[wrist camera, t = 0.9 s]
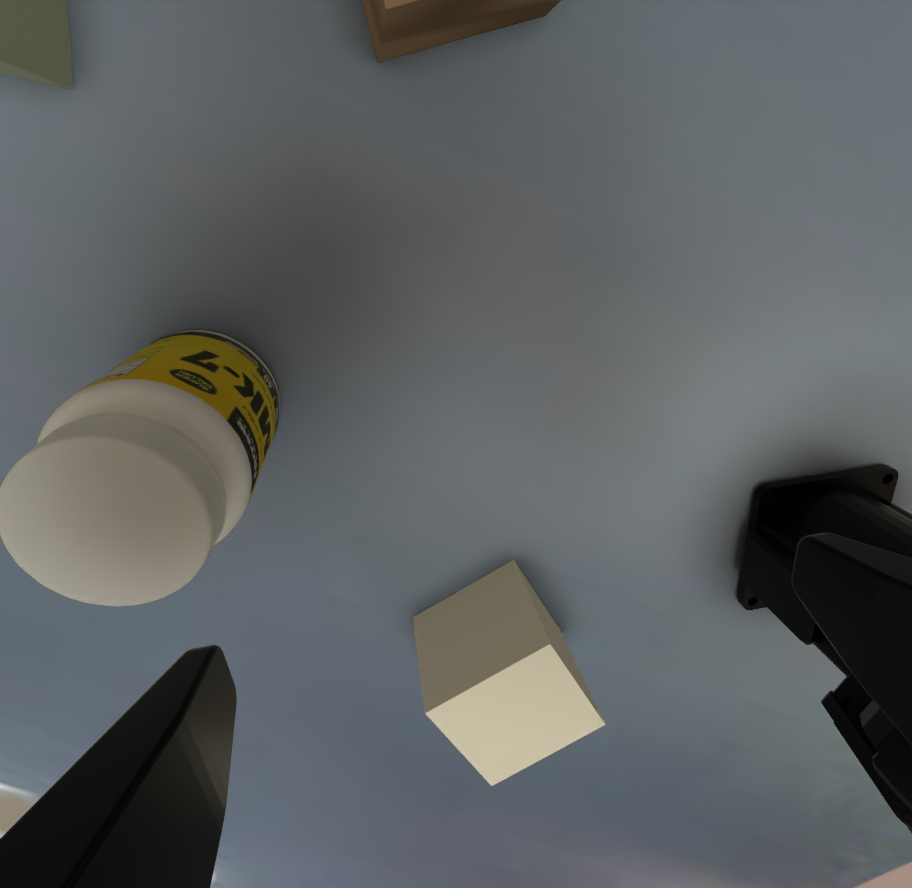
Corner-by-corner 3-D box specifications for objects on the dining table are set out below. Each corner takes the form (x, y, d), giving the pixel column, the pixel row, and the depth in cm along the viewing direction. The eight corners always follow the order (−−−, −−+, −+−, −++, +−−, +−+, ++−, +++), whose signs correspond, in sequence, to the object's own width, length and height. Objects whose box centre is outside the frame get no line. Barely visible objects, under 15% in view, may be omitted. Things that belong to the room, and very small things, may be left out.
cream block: (513, 558, 24) (550, 643, 19) (561, 631, 26) (605, 724, 21) (412, 616, 24) (425, 713, 19) (468, 684, 26) (491, 786, 22)
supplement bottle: (310, 416, 20) (279, 553, 12) (199, 485, 20) (102, 660, 12) (218, 297, 18) (113, 372, 10) (97, 375, 18) (-93, 505, 10)
